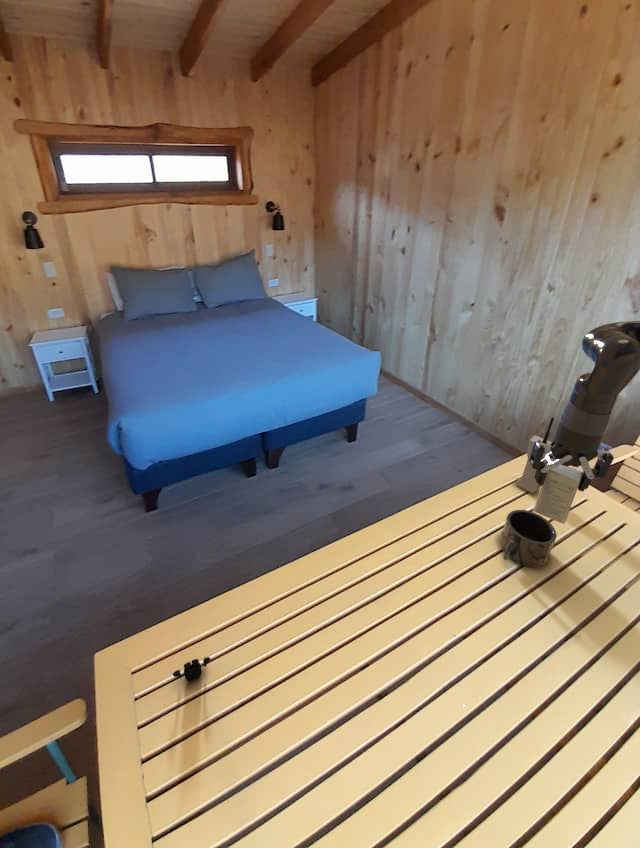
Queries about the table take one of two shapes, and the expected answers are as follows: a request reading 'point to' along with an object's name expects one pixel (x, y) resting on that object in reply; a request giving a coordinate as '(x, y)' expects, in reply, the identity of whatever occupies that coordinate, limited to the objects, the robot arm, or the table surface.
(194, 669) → the wireless earbuds
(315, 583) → the table surface
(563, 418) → the robot arm
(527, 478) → the vintage mobile phone
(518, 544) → the mug
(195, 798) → the table surface
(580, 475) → the cosmetic box
